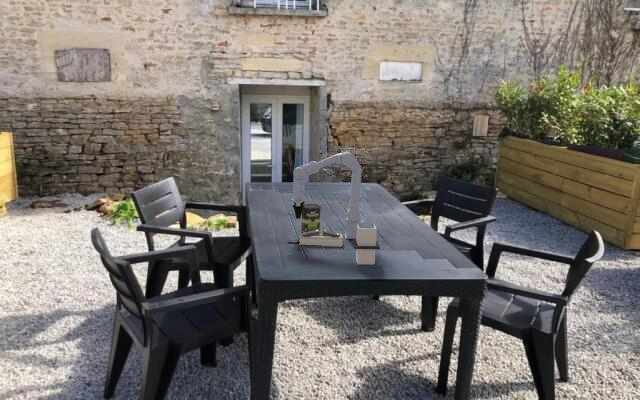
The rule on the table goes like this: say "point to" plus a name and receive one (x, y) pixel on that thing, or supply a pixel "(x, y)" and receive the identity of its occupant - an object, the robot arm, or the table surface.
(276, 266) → the table surface
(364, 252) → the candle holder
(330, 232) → the rocker
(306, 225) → the coffee can
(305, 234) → the rocker
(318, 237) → the rocker switch box
